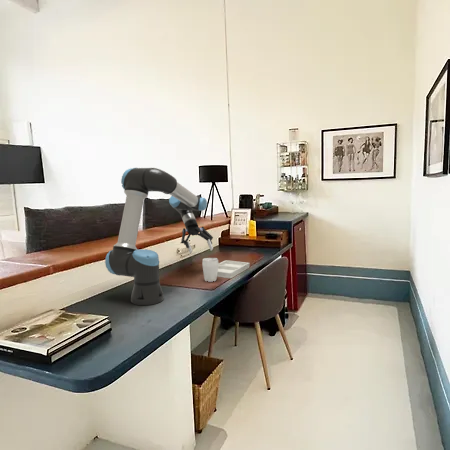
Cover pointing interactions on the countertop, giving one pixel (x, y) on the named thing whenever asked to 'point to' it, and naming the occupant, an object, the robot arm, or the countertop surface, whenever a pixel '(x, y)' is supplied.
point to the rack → (231, 268)
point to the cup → (210, 269)
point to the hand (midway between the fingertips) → (201, 250)
